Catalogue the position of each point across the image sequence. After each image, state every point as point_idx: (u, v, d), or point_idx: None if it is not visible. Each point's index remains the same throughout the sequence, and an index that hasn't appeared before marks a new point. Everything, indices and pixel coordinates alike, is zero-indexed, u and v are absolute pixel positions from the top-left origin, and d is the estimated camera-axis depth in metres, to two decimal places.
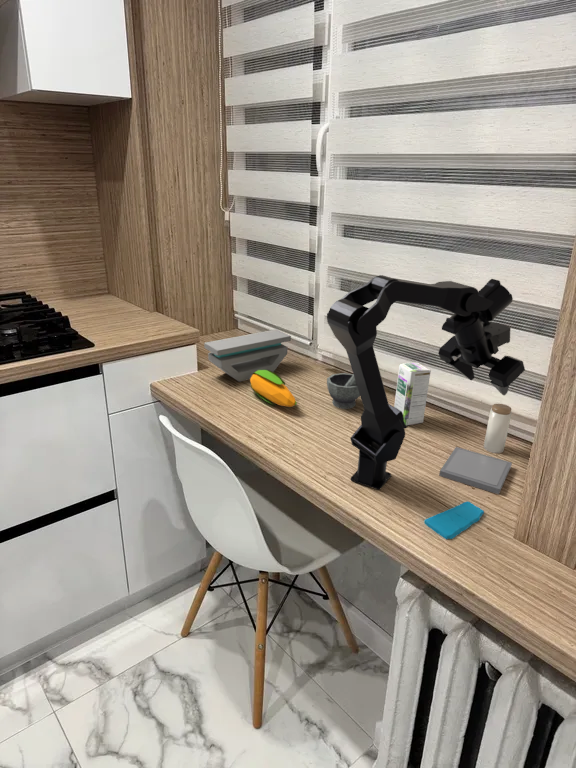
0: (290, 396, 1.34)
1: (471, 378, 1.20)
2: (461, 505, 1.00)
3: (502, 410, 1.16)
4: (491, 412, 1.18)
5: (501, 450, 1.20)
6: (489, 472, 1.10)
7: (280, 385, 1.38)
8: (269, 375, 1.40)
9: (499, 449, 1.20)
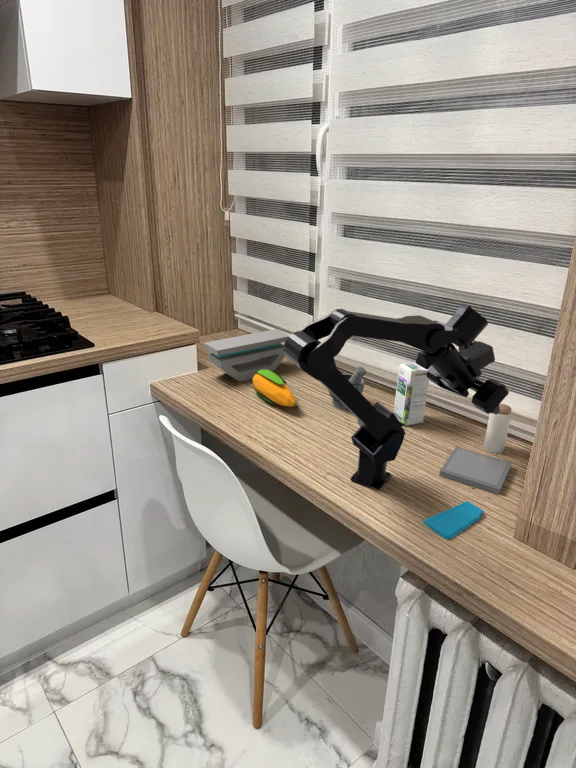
0: (290, 396, 1.34)
1: (465, 395, 1.18)
2: (461, 505, 1.00)
3: (502, 410, 1.16)
4: None
5: (501, 450, 1.20)
6: (489, 472, 1.10)
7: (281, 385, 1.38)
8: (271, 375, 1.40)
9: (499, 449, 1.20)
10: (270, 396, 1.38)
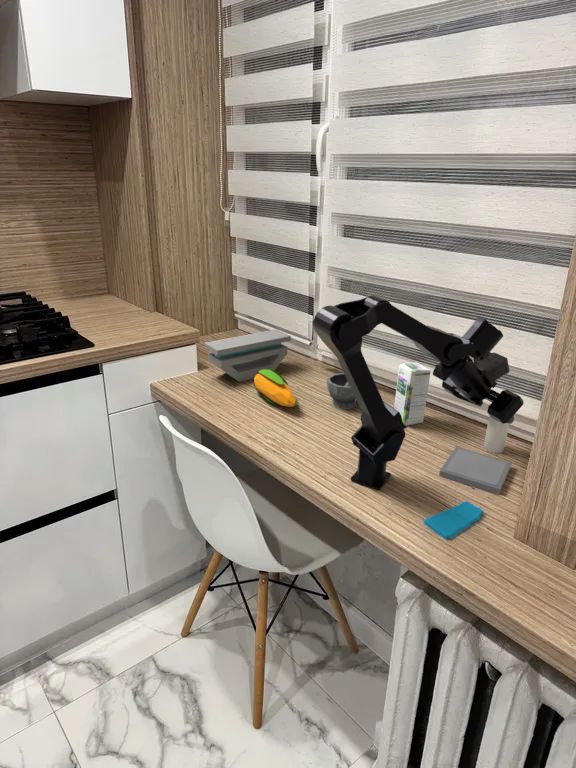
0: (290, 396, 1.34)
1: (480, 404, 1.21)
2: (460, 505, 1.00)
3: None
4: None
5: (501, 450, 1.20)
6: (489, 472, 1.10)
7: (282, 385, 1.38)
8: (271, 375, 1.40)
9: (499, 449, 1.20)
10: (271, 396, 1.38)
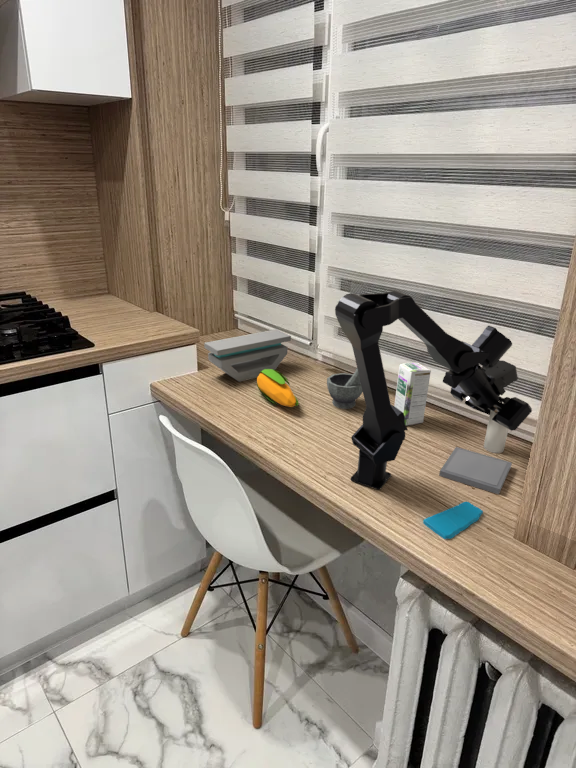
0: (291, 396, 1.34)
1: None
2: (460, 505, 1.00)
3: None
4: (491, 412, 1.18)
5: (501, 450, 1.20)
6: (489, 472, 1.10)
7: (283, 385, 1.38)
8: (273, 374, 1.40)
9: (499, 449, 1.20)
10: (272, 396, 1.38)
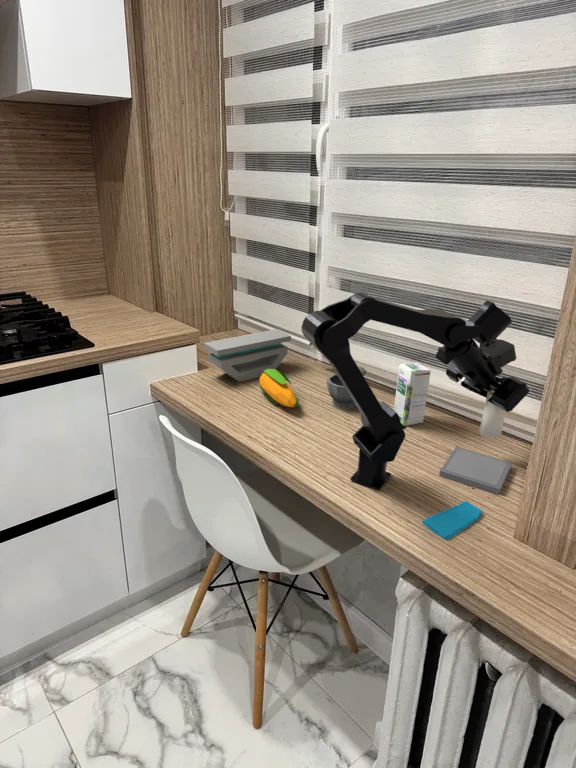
0: (291, 397, 1.34)
1: None
2: (460, 505, 1.00)
3: None
4: (488, 394, 1.12)
5: (497, 435, 1.14)
6: (489, 472, 1.10)
7: (284, 385, 1.38)
8: (275, 374, 1.40)
9: (495, 434, 1.14)
10: (273, 396, 1.38)
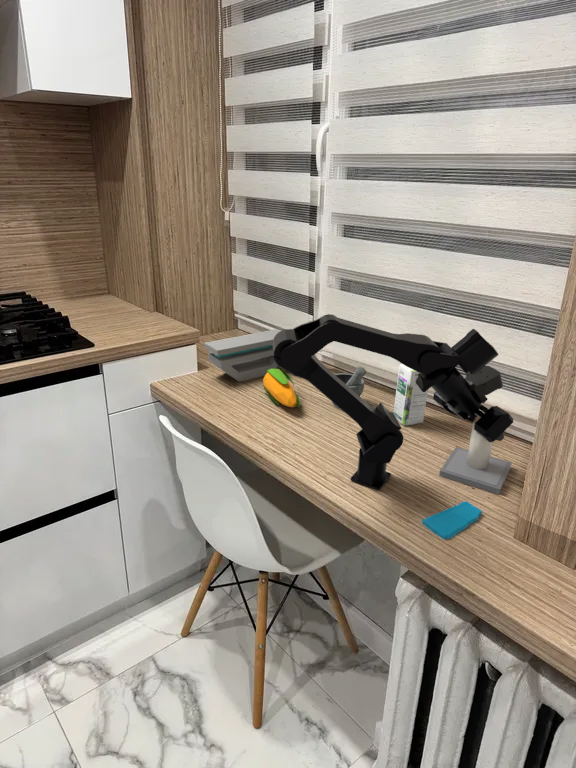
0: (291, 397, 1.34)
1: None
2: (459, 505, 1.00)
3: None
4: (473, 425, 1.09)
5: (484, 466, 1.11)
6: (489, 472, 1.10)
7: (285, 385, 1.38)
8: (278, 374, 1.41)
9: (482, 465, 1.10)
10: (274, 395, 1.39)
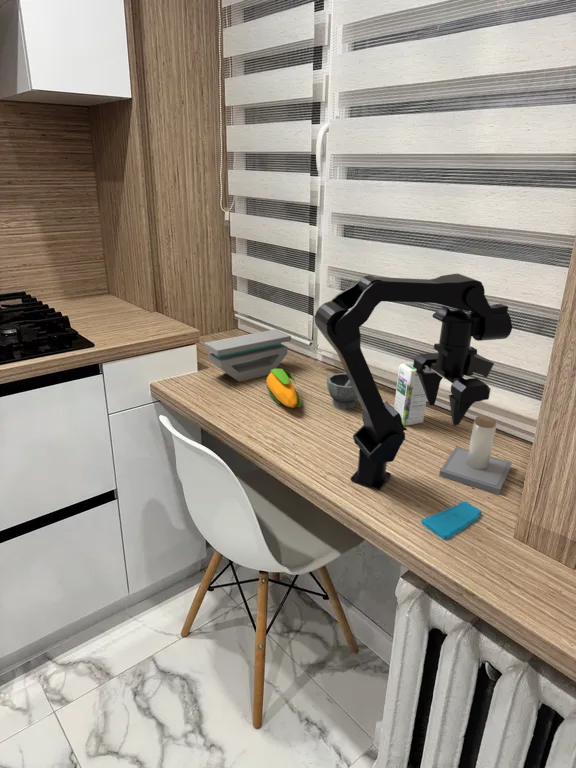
0: (292, 397, 1.34)
1: (431, 403, 1.12)
2: (458, 505, 1.00)
3: (485, 423, 1.08)
4: (474, 424, 1.09)
5: (484, 466, 1.11)
6: (489, 472, 1.10)
7: (287, 385, 1.38)
8: (280, 374, 1.41)
9: (482, 465, 1.10)
10: (275, 395, 1.39)
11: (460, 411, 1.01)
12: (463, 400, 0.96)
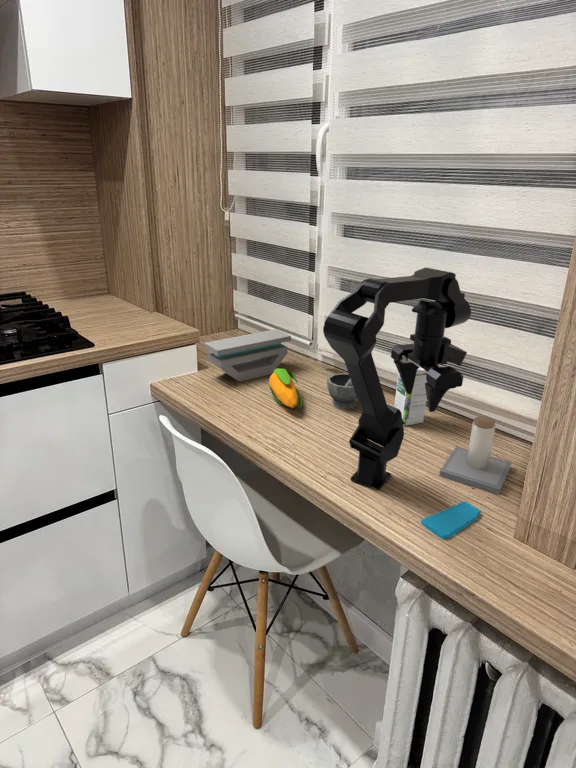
0: (292, 397, 1.34)
1: (408, 391, 1.17)
2: (458, 505, 1.00)
3: (484, 424, 1.07)
4: (473, 425, 1.09)
5: (484, 466, 1.11)
6: (489, 472, 1.10)
7: (288, 385, 1.38)
8: (282, 374, 1.41)
9: (481, 465, 1.10)
10: (277, 395, 1.39)
11: (435, 398, 1.07)
12: (438, 387, 1.01)
